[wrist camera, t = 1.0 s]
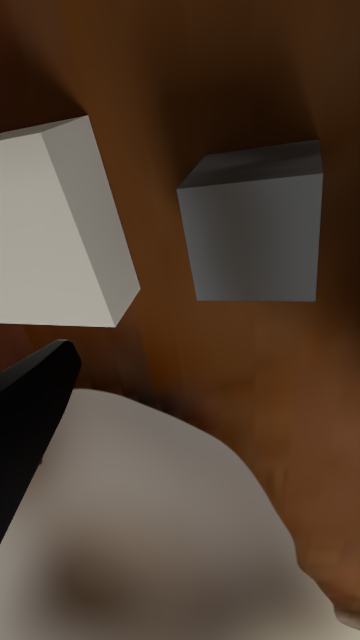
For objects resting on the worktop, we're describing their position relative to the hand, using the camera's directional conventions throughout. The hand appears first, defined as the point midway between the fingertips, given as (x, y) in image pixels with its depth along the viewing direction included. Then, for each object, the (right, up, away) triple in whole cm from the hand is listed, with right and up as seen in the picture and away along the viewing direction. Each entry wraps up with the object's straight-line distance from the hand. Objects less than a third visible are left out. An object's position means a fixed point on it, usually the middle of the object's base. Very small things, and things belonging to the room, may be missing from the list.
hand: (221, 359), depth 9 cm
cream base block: (-9, +7, +12) cm, 17 cm away
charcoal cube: (+3, +7, +8) cm, 11 cm away
